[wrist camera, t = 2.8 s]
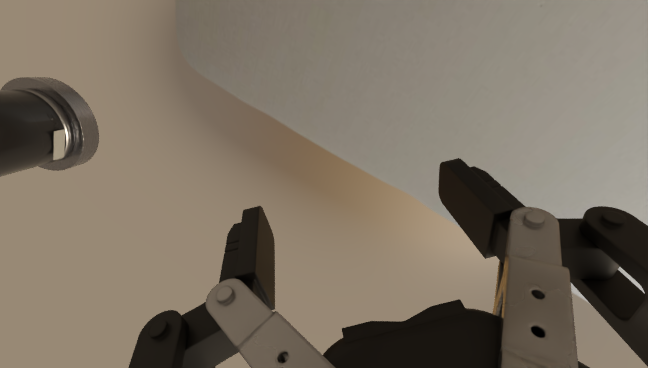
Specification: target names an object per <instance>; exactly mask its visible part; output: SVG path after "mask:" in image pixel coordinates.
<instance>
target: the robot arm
mask: <svg viewBox="0 0 648 368" xmlns="http://www.w3.org/2000/svg"><path fill="white" fill-rule="evenodd" d="M73 144H74V134H73V129H72V126H71V123H70V121H69V119H68V117H67V115H66V113H65V112H64V111H63V109H62V108H61V107H60V106H59V105H58V104H57V103H56V102H55V101H54V100H53V99H52V98H51V97H49V96H48V95H46V94H44V93H42V92H40V91H37V90H34V89H13V90H2V91H0V176H4V175H7V174H11V173H15V172H18V171H22V170H25V169H29V168H33V167H36V166H40V165H44V164H49V163H53V162H57V161H60V160H63V159H64V158H66V157H67V156H68V155H69V154H70V152H71V150H72V148H73ZM439 196H440V199H441V202H442V203H443V205H444V206H445V207H446V209H447V210H448V211H449V213H450V214H451V215H452V216H453V218H454V219H455V220H456V222H457V223H458V224H459V225H460V227H461V228H462V229H463V231H464V232H465V233H466V234H467V236H468V237H469V238H470V240H471V241H472V242H473V244H474V245H475V246H476V248H477V249H478V250H479V251H480V253H481V254H482V255H483V257H484V258H485V259H486V258H490V257H493V256H497V257H498V259H499V260H500V262H499V266H498V275H497V284H496V293H495V302H494V309H493V314H491V313H488V312H485V311H481V310H476V309H466V308H465V307H464V306H463V304H462V302H461V300H455V301H451V302H447V303H443V304H439V305H435V306H432V307H429V308H427V309H426V310H424V311H422V312H420V313H419V314H417V315H415V316H413V317H411V318H410V319H408V320H406V321H402V322H388V321H385V322H384V321H370V322H366V323H362V324H358V325H354V326H350V327H346V328H342V332H343V337H344V338H342V339H340V340H338V341H337V342H336V343H334V344H333V345H332V346H331V347H330V348H329V349H328V350H327V351H326V352H325V353H324V354H323V355H321V353H320V352H319V351H317V350H316V349H315V348H314V347H313V346H312V345H311V344H310V343H309V342H308V341H307V340H306V339H305V338H304V337H303V336H302V335H301V334H300V333H299V332H298V331H297V330H296V329H295V328H294V327H293V326H292V325H291V324H290V323H289V322H288V321H287V320H286V319H285V318H283V316H282V315H280V314H279V313H278V312H276V311H275V312H272V311H271V310H274V309H275V269H274V268H275V260H274V259H275V256H274V254H275V252H274V251H275V250H274V237H273V233H272V230H271V228H270V225H269V223H268V220H267V218H266V216H265V213H264V211H263V208H262V207H261V206H258V207H254V208H250V209H245V210H244V211H243V216H242V222H241V223H237V224H234V225H233V227H232V228H231V230H230V231H229V233H228V236H227V243H226V244H227V245H226V248H225V254H224V259H223V264H222V270H221V275H220V281H219V284H217V285H216V286H215V287H214V288H213V289H212V290H211V291H210V293H209V294H208V296H207V299H206V302H205V303H203V304H202V305H200V306H198V307H196V308H195V309H193V310H191V311H189V312H187V313H185V314H184V315H182V316H181V315H180V314H179V313H178V312H177V311H174V310H168V311H164V312H162V313H160V314H158V315H156V316H155V317H153V318H152V319H151V320H150V321H149V322H148V323H147V324H146V325H145V326H144V328H143V329H142V331H141V332H140V335H139V337H138V340H137V344H136V346H135V350H134V353H133V356H132V359H131V362H130V365H129V368H215V366H216V365H218V364H220V363H221V362H223V361H224V360H226V359H228V358H229V357H231V356H233V355H234V354H236V353H238V352H239V353H240V354H241V355H242V356H243V358H244V359H245V360H246V362H247V363H248V364H249V366H250V367H251V368H589V367H588V366H586V365H584V364H583V363H581V362H579V361H578V359H577V348H576V337H575V326H574V315H573V305H572V294H571V283H572V284H573V285H574V286H575V287H576V288H577V289H578V290H579V292H580V293H581V294H582V295H583V296H584V297H585V298H586V299H587V300H588V301H589V303H590V304H591V305H592V306H593V307H594V308H595V309H596V310H597V311H598V312H599V314H600V315H601V316H602V317H603V318H604V319H605V320H606V321H607V322H608V323H609V325H610V326H611V327H612V328H613V329H614V330H615V331H616V332H617V333H618V334H619V335H620V337H621V338H622V339H623V340H624V341H625V342H626V343H627V344H628V345H629V346H630V348H631V349H632V350H633V351H634V352H635V353H636V354H637V355H638V356H639V357H640V358H641V360H642V361H643V362H644V363H645V364H646V365H647V366H648V226H647V225H646V224H644V223H643V222H641V221H640V220H638V219H637V218H636V217H634V216H633V215H631V214H629V213H627V212H625V211H622V210H620V209H616V208H612V207H603V206H601V207H593V208H590V209H588V210H587V211H586V212H585V214H584V216H583V219H556V218H555V217H554V216H553V215H552V214H550V213H549V212H547V211H544V210H542V209H538V208H533V207H525V206H524V205H523V204H522V203H521V202H520V201H518V200H517V199H516V198H515V197H514V196H513V195H512V194H511V193H509V192H508V191H507V190H506V189H505V188H504V187H503V186H501V185H500V184H499V183H498V182H497V181H496V180H494V178H492V177H491V176H490V175H489V174H488V173H487V172H486V171H483V170H481V169H479V168H476V167H469V166H468V165H467V164H466V163H465V162H464V161H462V160H461V159H459V158H458V159H454V160H450V161H445V162H442V163H441V164H440V170H439ZM619 266H620V267H621V268H622V269H623V270H625V271H626V272H627V273H628V274H629V275H630V276H631V277H632V278H634V279H635V280H636V281H637V282H638V283H639V284H640V285H641V286H642V288H643V290H644V292H645V294H644V293H643V292H642V291H641V290H640V289H639V288H638V287H636V286H635V285H634V284H633V283H632V282H631V281H630V280H629V279H628V278H626V277H625V276H624V275H623V274H622V273H621V272H620V271H619V270H618V268H619ZM570 282H571V283H570Z"/></svg>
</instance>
